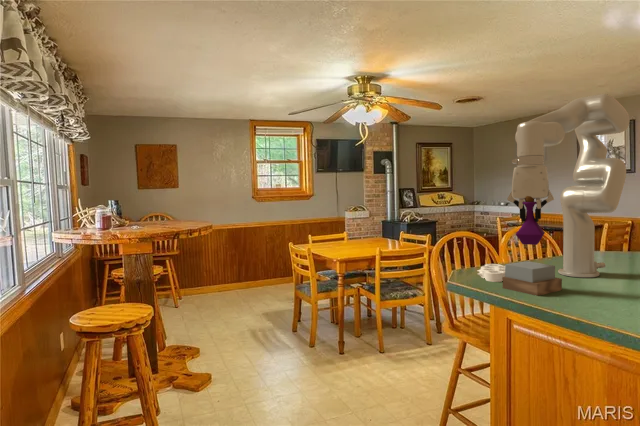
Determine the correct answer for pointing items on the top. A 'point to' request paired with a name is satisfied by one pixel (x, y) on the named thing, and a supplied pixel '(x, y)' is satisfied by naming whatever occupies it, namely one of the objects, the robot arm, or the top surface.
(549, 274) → the tower top
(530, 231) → the perfume bottle
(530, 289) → the tower bottom
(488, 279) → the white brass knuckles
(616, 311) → the top surface
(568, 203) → the robot arm
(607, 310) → the top surface
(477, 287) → the top surface
